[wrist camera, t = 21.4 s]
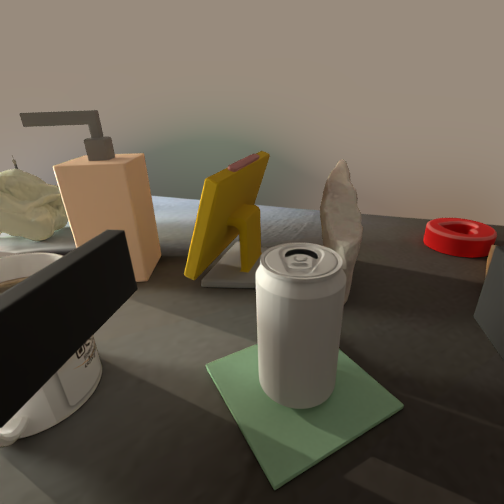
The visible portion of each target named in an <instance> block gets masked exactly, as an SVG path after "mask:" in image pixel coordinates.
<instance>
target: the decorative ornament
mask: <svg viewBox="0 0 504 504" xmlns="http://www.w3.org/2000/svg"><path fill="white" fill-rule="evenodd" d="M496 236H497V233H496V231H495V230H494V229H493V228H492V227H490V226H488V225H486V224H483V223H480V222H476V221H472V220H467V219H460V218H438V219H434V220H431V221H429V222H428V223H427V225H426V230H425V235H424V243H425V244H426V245H427V246H428V247H430V248H431V249H433V250H436V251H438V252H441V253H444V254H448V255H453V256H459V257H470V258H476V257H484V256H488V255H489V252H490V248H491V245H494V243H495V240H496Z"/></svg>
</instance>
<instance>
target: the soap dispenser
mask: <svg viewBox="0 0 504 504" xmlns="http://www.w3.org/2000/svg"><path fill="white" fill-rule="evenodd" d="M20 117H21V120H22V123H23V126H24V127H29V126H55V125H83V124H88V125H89V130H90V134H91V138H87V139H85V140H84V144H85V148H86V152H87V155H84V156H82V157H79V158H75V159H72V160H69V161H66V162H63V163H61V164H58V165H55V166H53V169H54V173H55V176H56V179H57V182H58V186H59V190H60V193H61V197H62V200H63V203H64V207H65V210H66V214H67V217H68V220H69V224H70V227H71V231H72V234H73V237H74V241H75V244H76V248H78V247H79V246H81V245H83V244H84V243H86V242H88V241H89V240H91V239H92V238H94V237H96V236H97V235H99V234H101V233H102V232H104V231H106V230H125V235H126V239H127V244H128V248H129V253H130V257H131V262H132V266H133V271H134V275H135V280H136V282H143V281H148V280H149V278H150V276H151V274H152V272H153V270H154V268H155V266H156V264H157V263H158V261H159V259H160V257H161V250H160V244H159V238H158V232H157V226H156V221H155V215H154V209H153V203H152V197H151V192H150V186H149V180H148V174H147V168H146V163H145V156H144V154H143V153H136V154H114V149H113V144H112V140H111V137H103V132H102V128H101V123H100V119H99V114H98V111H97V110H94V111H93V110H92V111H69V112H67V111H66V112H41V113H40V112H38V113H20Z"/></svg>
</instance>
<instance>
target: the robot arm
mask: <svg viewBox="0 0 504 504" xmlns="http://www.w3.org/2000/svg"><path fill="white" fill-rule="evenodd" d="M136 290H137V284H136V280H135V275H134V271H133V266H132V262H131V257H130V253H129V248H128V244H127V239H126V235H125V230H106V231H104V232H102V233H101V234H99V235H97V236H96V237H94V238H92V239H91V240H89V241H88V242H86V243H84V244H83V245H81V246H79V247H78V248H76V249H74V250H73V251H71V252H69V253H68V254H66V255H64V256H63V257H61V258H59V259H58V260H56V261H54V262H53V263H51V264H49V265H48V266H46V267H44V268H43V269H41V270H39V271H38V272H36V273H34V274H33V275H31V276H29V277H28V278H26V279H24V280H23V281H21V282H19V283H18V284H16V285H14V286H13V287H11V288H9V289H8V290H6V291H5V292H3V293H1V294H0V428H2V427H3V426H4V425H5V424H6V423H7V422H8V421H9V420H10V419H11V418H12V417H13V416H14V415H15V414H16V413H17V412H18V411H19V410H20V409H21V408H22V407H23V406H24V405H25V404H26V403H27V402H28V401H29V400H30V399H31V398H32V397H33V396H34V395H35V393H36V392H37V391H38V390H39V389H40V388H41V387H42V386H43V385H44V384H45V383H46V382H47V381H48V380H49V379H50V378H51V377H52V376H53V375H54V374H55V373H56V372H57V371H58V370H59V369H60V368H61V367H62V366H63V365H64V364H65V363H66V362H67V361H68V360H69V359H70V358H71V357H72V356H73V355H74V354H75V353H76V352H77V351H78V350H79V349H80V348H81V347H82V346H83V344H84V343H85V342H86V341H87V340H88V339H89V338H90V337H91V336H92V335H93V334H94V333H95V332H96V331H97V330H98V329H99V328H100V327H101V326H102V325H103V324H104V323H105V322H106V321H107V320H108V319H109V318H110V317H111V316H112V315H113V314H114V313H115V312H116V311H117V310H118V309H119V308H120V307H121V306H122V305H123V304H124V303H125V302H126V301H127V300H128V299H129V298H130V297H131V296H132V294H133V293H134V292H135V291H136ZM473 317H474V318H475V320H476V321H477V323H478V324H479V325H480V327H481V328H482V330H483V331H484V333H485V334H486V336H487V337H488V339H489V340H490V341H491V343H492V344H493V346H494V347H495V349H496V350H497V352H498V353H499V355H500V356H501V357H502V359H503V360H504V246H495V249H494V253H493V256H492V259H491V262H490V265H489V268H488V272H487V275H486V278H485V281H484V284H483V288H482V291H481V294H480V297H479V300H478V304H477V307H476V310H475V313H474V316H473Z"/></svg>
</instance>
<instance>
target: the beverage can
mask: <svg viewBox="0 0 504 504" xmlns="http://www.w3.org/2000/svg"><path fill="white" fill-rule="evenodd" d="M260 263H261V265H260V266H259V267H258V269H257V271H256V304H257V334H258V365H259V381H260V384H261V387H262V389H263V390H264V392H265V393H266V394H267V395H268V396H269V397H270V398H271V399H272V400H273V401H275V402H277V403H278V404H280V405H283V406H286V407H289V408H295V409H306V408H312V407H315V406H317V405H320V404H321V403H323V402H324V401H326V400H327V399H328V398H329V397H330V395H331V394H332V392H333V390H334V387H335V381H336V371H337V362H338V353H339V344H340V334H341V325H342V316H343V306H344V297H345V288H346V274H345V272H344V271H343V269H342V258H341V257H340V255H339V254H338V253H336V252H335V251H333V250H332V249H330V248H327V247H324V246H321V245H317V244H311V243H286V244H281V245H277V246H274V247H271V248H269V249H268V250H266V251H265V252H264V253H263V254H262V255H261V259H260Z"/></svg>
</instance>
